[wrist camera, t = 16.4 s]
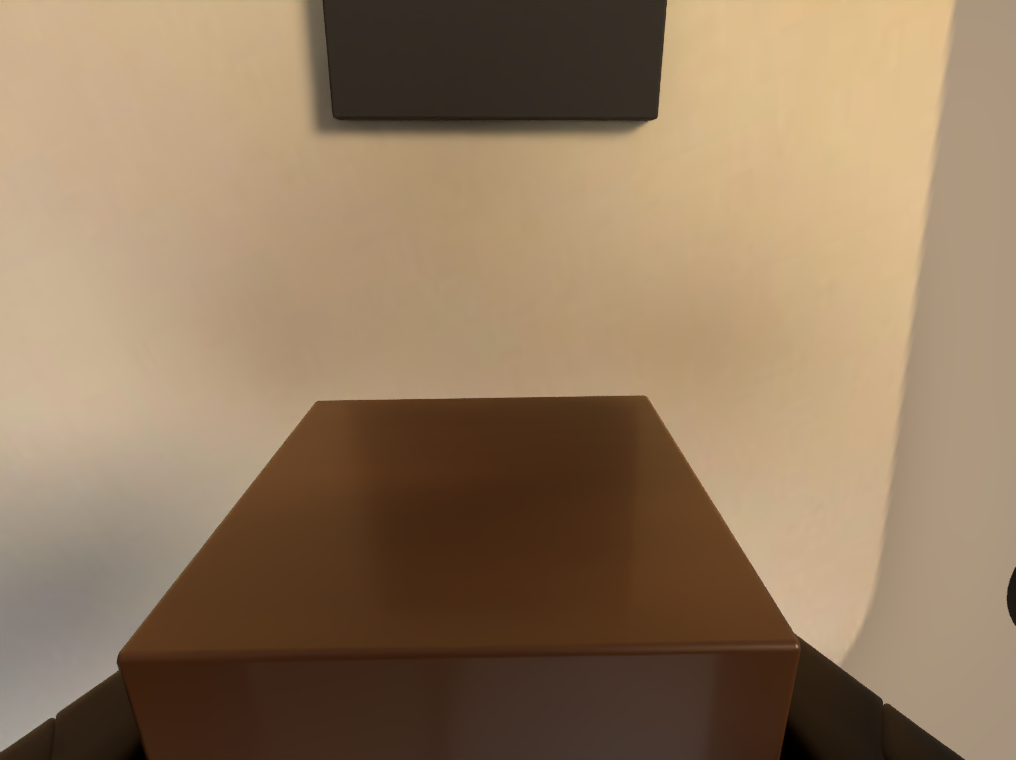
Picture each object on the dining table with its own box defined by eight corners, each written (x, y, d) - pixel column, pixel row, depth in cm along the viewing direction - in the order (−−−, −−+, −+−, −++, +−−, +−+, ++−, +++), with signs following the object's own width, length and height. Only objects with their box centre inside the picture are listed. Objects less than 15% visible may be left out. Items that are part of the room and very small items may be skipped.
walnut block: (647, 393, 9) (806, 645, 4) (628, 653, 11) (727, 1037, 6) (315, 399, 9) (110, 657, 4) (350, 658, 11) (230, 1046, 6)
